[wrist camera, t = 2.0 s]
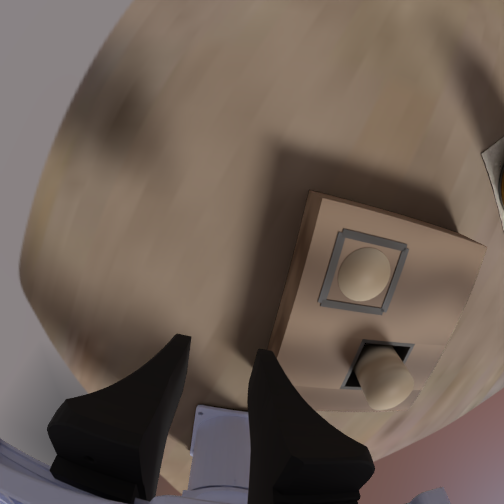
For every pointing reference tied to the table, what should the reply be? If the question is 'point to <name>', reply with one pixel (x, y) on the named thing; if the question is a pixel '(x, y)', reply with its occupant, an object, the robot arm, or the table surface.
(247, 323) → the table surface
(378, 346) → the peg
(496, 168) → the condiment
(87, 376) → the table surface
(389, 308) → the board
